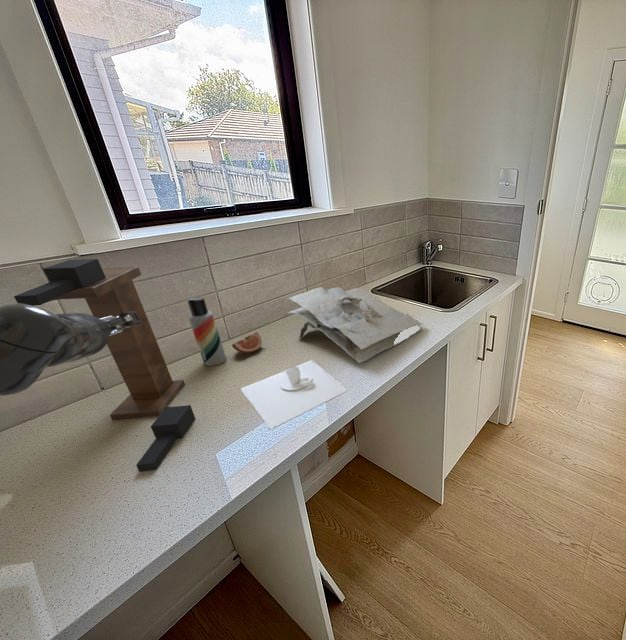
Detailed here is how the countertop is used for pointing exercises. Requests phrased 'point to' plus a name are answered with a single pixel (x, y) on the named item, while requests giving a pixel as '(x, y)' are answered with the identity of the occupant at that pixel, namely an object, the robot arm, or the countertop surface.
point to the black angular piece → (166, 435)
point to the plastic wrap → (352, 319)
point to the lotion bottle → (206, 332)
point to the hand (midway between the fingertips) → (102, 330)
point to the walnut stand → (131, 344)
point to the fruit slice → (248, 344)
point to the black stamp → (63, 280)
